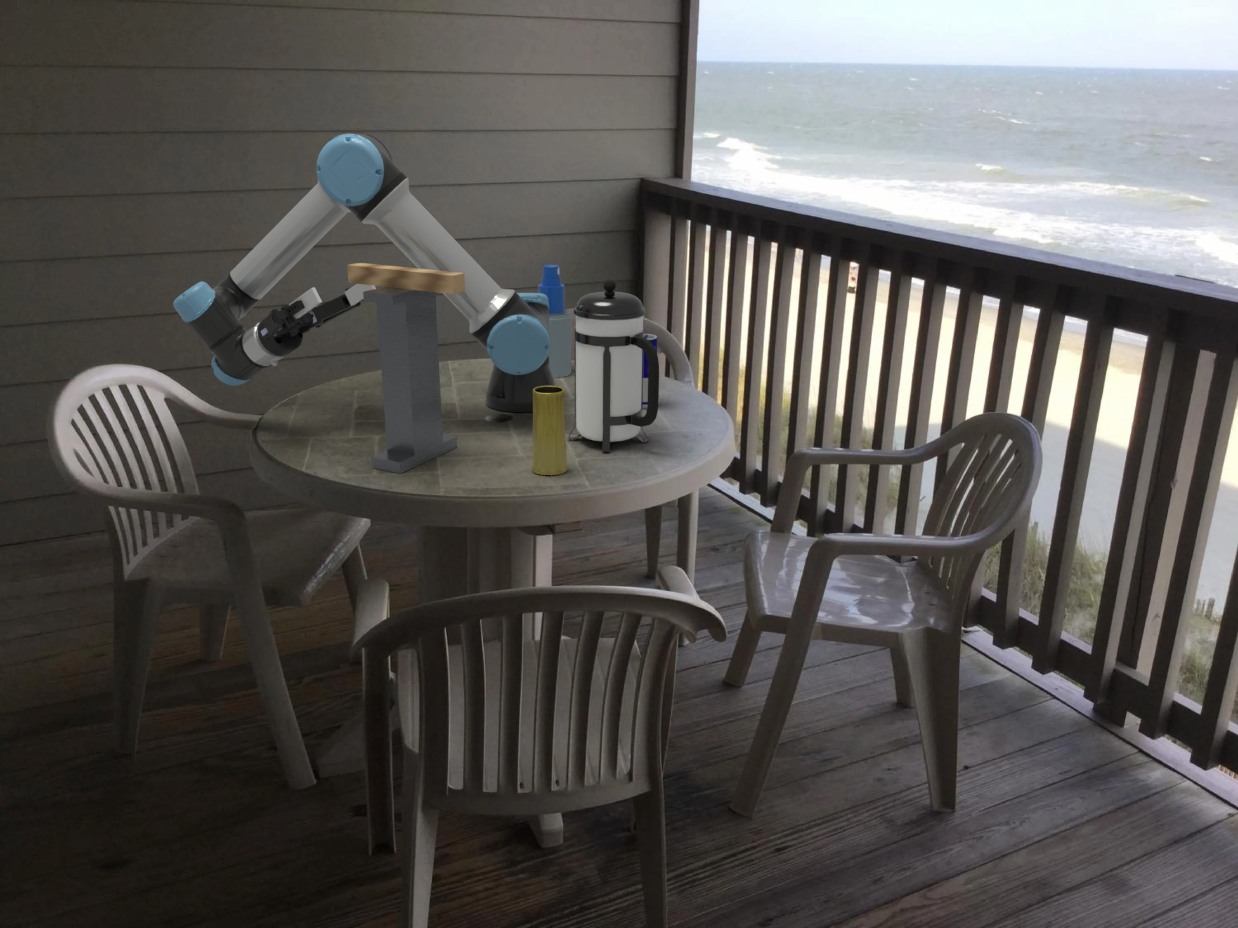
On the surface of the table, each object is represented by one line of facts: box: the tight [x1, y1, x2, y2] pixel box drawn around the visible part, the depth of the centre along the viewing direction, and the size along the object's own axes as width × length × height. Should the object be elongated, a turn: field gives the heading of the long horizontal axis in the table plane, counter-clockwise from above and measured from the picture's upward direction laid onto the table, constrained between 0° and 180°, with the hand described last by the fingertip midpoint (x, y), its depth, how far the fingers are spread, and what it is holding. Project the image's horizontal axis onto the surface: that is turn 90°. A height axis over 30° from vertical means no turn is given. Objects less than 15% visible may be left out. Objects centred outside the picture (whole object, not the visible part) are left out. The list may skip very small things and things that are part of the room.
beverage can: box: [641, 333, 658, 410], centre depth 205 cm, size 5×5×15 cm
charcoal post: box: [363, 286, 458, 474], centre depth 170 cm, size 6×16×30 cm, turn 152°
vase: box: [531, 385, 568, 477], centre depth 167 cm, size 6×6×14 cm
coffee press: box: [568, 278, 660, 454], centre depth 180 cm, size 17×16×30 cm
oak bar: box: [346, 262, 465, 294], centre depth 165 cm, size 22×3×3 cm, turn 63°
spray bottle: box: [537, 264, 572, 379], centre depth 228 cm, size 9×9×25 cm
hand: (345, 288), depth 171 cm, fingers open, 13 cm apart
